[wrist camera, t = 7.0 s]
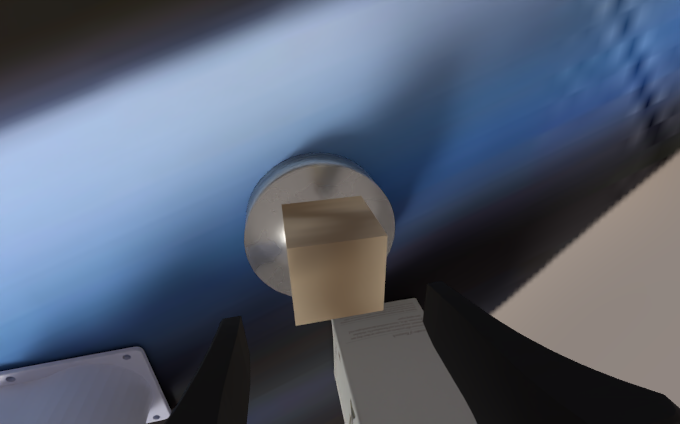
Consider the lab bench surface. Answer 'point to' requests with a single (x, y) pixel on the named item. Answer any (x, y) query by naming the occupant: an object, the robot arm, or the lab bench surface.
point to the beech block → (334, 258)
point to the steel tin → (302, 186)
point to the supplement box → (393, 370)
